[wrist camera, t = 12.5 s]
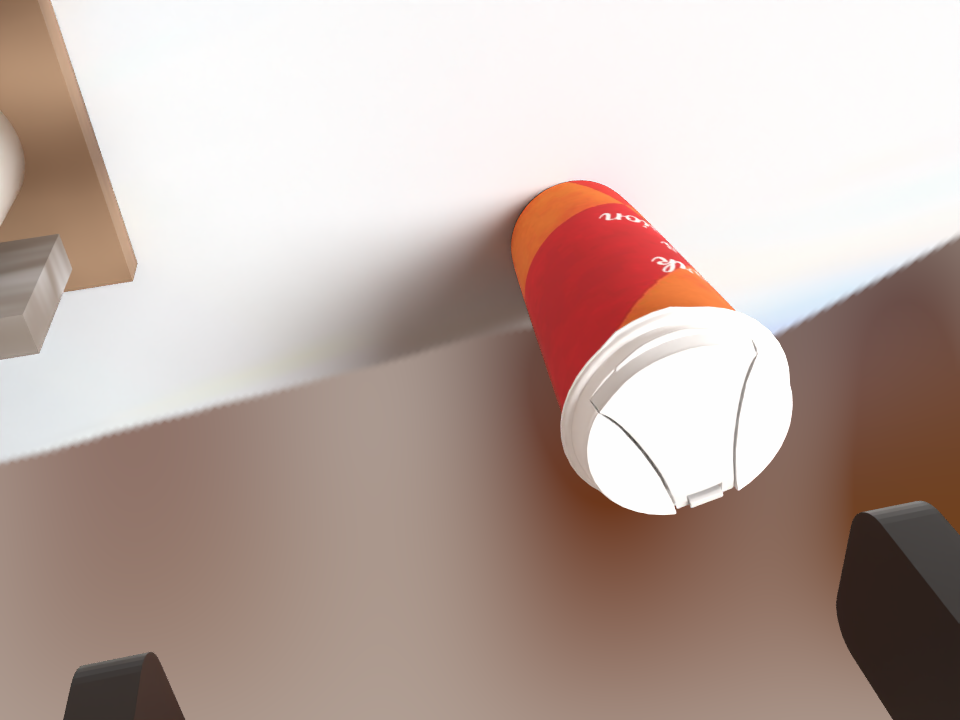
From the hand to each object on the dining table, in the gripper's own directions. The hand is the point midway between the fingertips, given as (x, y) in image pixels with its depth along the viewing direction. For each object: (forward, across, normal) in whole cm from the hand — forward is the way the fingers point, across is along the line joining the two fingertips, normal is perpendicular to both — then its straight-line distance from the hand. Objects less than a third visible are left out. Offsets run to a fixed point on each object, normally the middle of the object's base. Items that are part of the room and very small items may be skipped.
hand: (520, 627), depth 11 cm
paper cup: (+28, -8, +10) cm, 31 cm away
